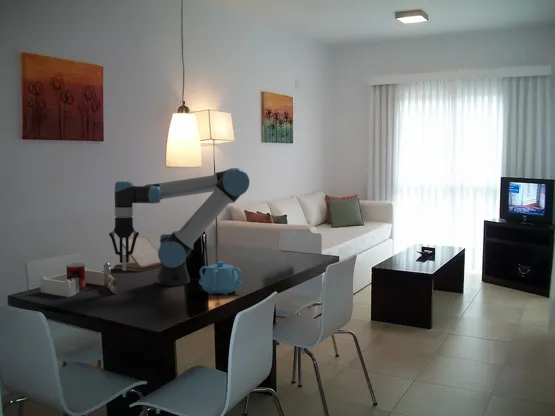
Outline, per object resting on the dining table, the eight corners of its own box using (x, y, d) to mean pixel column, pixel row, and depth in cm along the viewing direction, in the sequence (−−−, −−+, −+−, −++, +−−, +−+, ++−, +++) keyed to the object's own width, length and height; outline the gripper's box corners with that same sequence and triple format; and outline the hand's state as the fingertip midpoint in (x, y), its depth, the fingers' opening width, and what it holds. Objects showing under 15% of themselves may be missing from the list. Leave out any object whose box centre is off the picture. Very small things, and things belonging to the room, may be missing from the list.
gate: (107, 286, 250) (107, 274, 250) (110, 286, 251) (109, 274, 250) (113, 293, 237) (113, 280, 236) (116, 293, 238) (116, 280, 237)
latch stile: (79, 292, 240) (78, 277, 240) (75, 293, 238) (74, 278, 238) (76, 291, 241) (75, 277, 241) (71, 293, 239) (71, 278, 239)
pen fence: (110, 285, 254) (110, 270, 253) (67, 297, 232) (66, 280, 231) (84, 281, 262) (83, 267, 261) (39, 292, 240) (39, 276, 239)
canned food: (81, 285, 253) (80, 262, 252) (88, 289, 247) (87, 264, 246) (64, 288, 248) (63, 264, 247) (70, 291, 242) (70, 266, 241)
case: (140, 272, 284) (140, 241, 282) (110, 268, 294) (110, 238, 293) (166, 266, 301) (166, 237, 300) (138, 262, 312) (138, 234, 310)
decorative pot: (231, 286, 253) (231, 257, 252) (244, 294, 238) (244, 263, 237) (197, 290, 246) (196, 260, 245) (208, 298, 231) (208, 266, 230)
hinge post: (112, 285, 254) (111, 262, 253) (107, 286, 251) (107, 263, 250) (107, 284, 255) (107, 261, 254) (102, 286, 253) (102, 263, 252)
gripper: (138, 215, 247) (139, 267, 249) (108, 216, 243) (108, 268, 245) (139, 217, 240) (139, 271, 242) (108, 217, 236) (108, 272, 238)
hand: (124, 269), depth 243 cm, fingers closed
